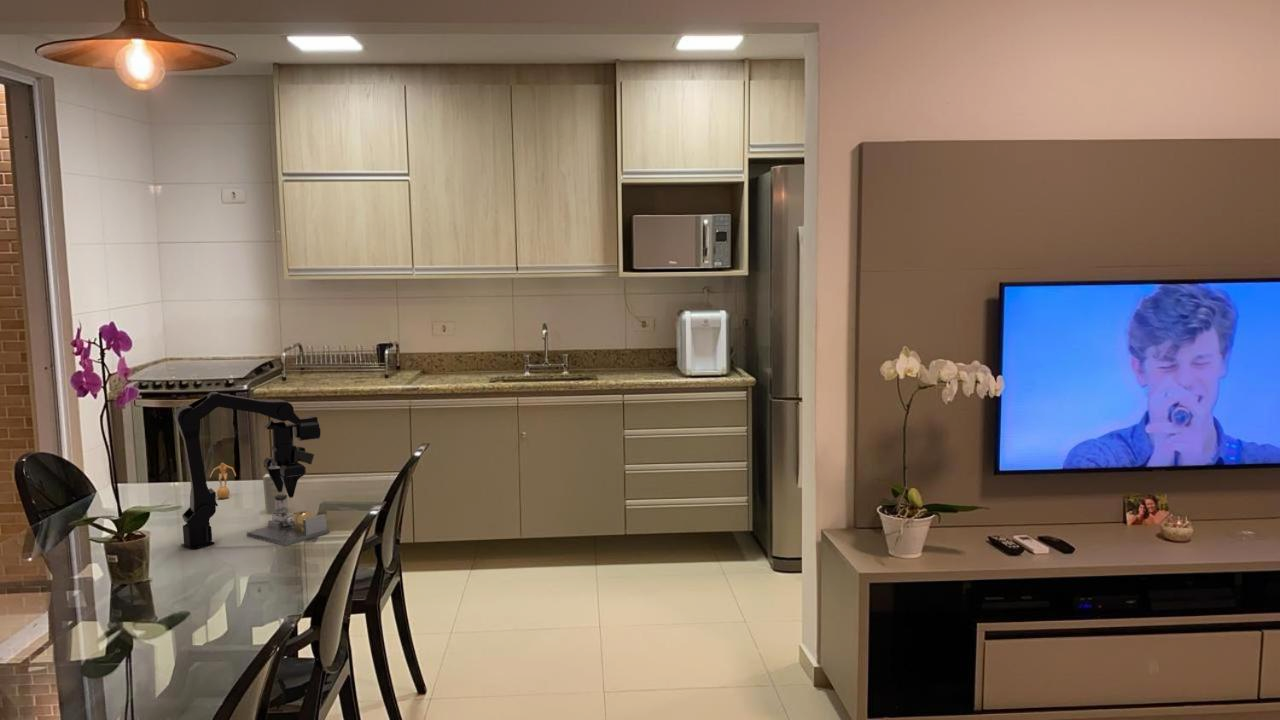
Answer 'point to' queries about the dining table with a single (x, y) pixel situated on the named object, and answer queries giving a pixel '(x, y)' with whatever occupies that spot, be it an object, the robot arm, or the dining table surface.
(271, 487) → the skincare box
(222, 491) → the figurine
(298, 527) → the cylinder
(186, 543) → the robot arm
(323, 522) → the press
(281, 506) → the ram
